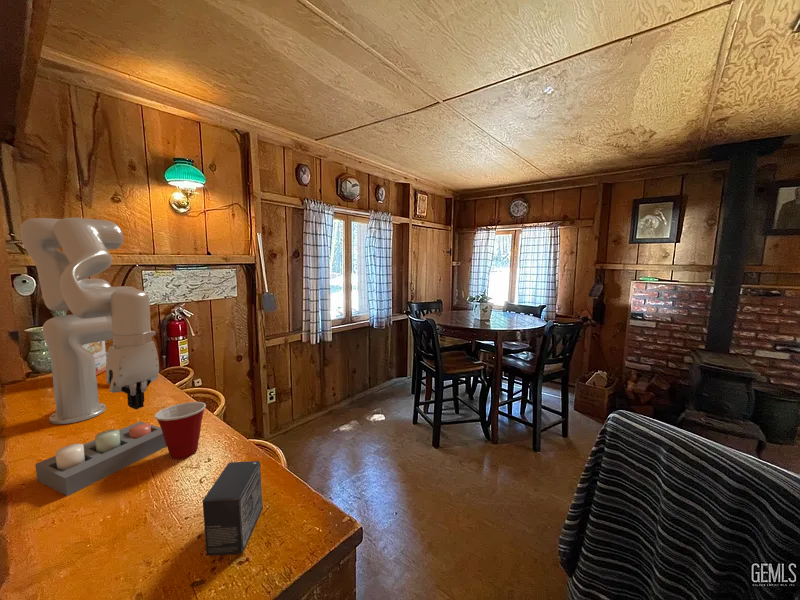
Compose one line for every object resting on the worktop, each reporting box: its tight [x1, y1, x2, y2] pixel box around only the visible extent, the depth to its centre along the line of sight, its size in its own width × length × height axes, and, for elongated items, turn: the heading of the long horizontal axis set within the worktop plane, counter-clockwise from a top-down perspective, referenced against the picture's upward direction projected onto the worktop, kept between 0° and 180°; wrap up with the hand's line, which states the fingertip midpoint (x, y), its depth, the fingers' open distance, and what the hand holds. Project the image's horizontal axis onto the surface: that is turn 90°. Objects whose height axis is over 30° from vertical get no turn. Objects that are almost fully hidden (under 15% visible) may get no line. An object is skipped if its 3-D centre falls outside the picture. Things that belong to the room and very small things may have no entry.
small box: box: [202, 460, 264, 557], centre depth 60 cm, size 11×6×10 cm, turn 5°
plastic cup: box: [154, 401, 207, 461], centre depth 83 cm, size 11×11×12 cm
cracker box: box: [82, 341, 107, 376], centre depth 134 cm, size 14×6×21 cm, turn 12°
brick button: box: [129, 422, 152, 439], centre depth 86 cm, size 4×4×5 cm
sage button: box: [94, 428, 121, 454], centre depth 80 cm, size 4×4×5 cm
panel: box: [35, 421, 167, 497], centre depth 80 cm, size 12×21×4 cm, turn 158°
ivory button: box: [54, 443, 85, 472], centre depth 73 cm, size 4×4×5 cm
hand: (136, 407), depth 86 cm, fingers closed
